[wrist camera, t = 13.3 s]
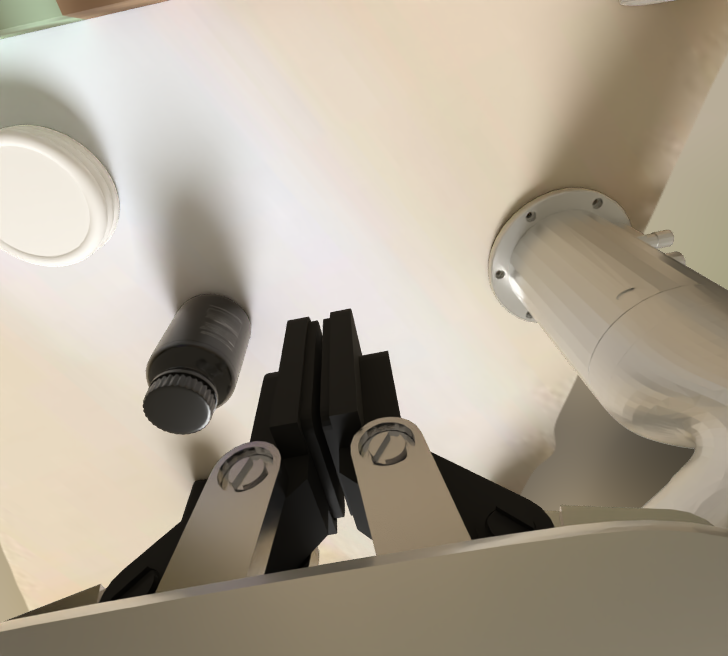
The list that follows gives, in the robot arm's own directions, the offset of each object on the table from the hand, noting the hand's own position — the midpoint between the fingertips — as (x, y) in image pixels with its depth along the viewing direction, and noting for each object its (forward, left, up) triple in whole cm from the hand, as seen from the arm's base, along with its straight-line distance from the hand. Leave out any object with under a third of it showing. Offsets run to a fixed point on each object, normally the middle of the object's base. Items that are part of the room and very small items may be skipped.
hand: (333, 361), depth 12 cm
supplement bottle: (+14, +12, -27) cm, 33 cm away
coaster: (+22, -2, -28) cm, 35 cm away
